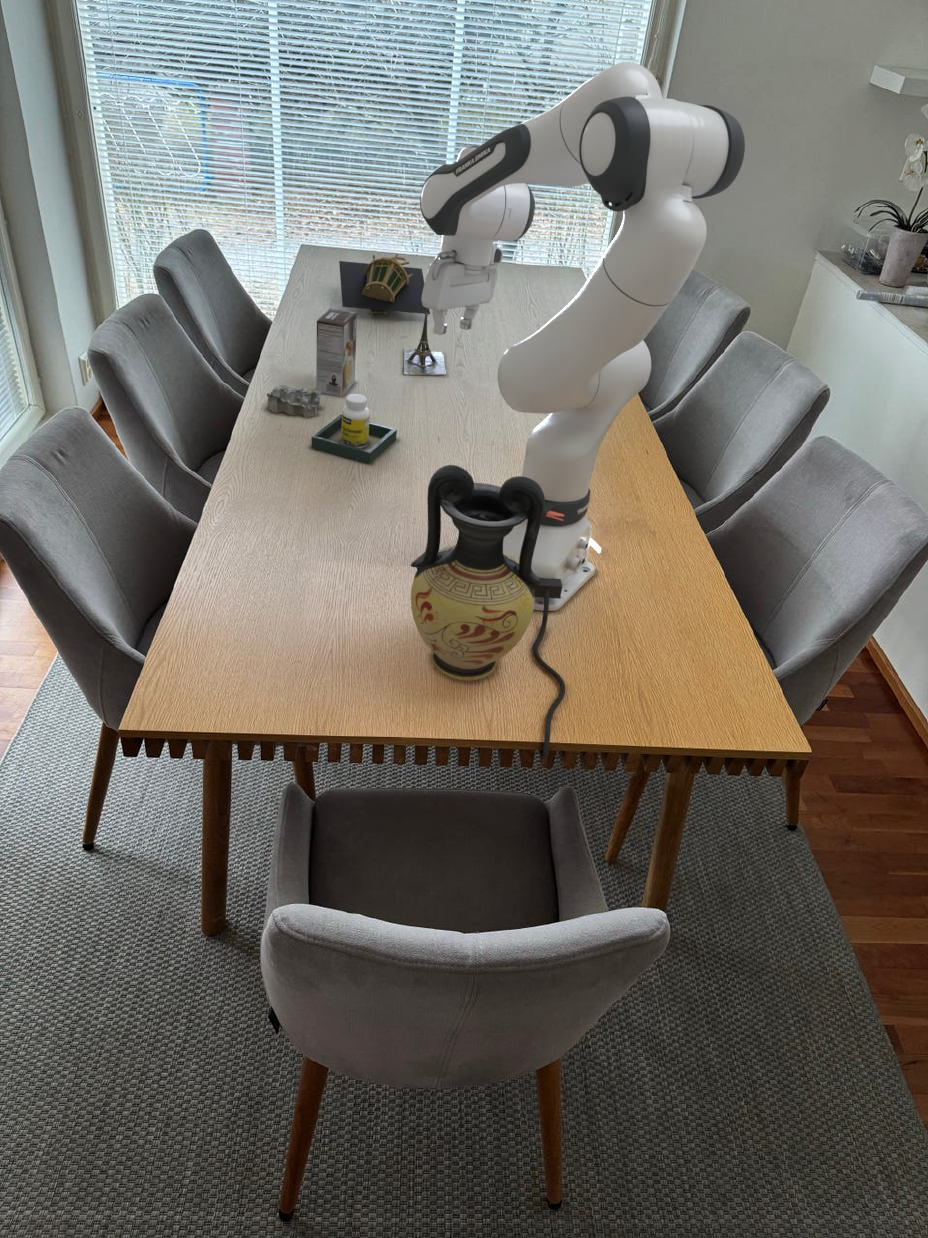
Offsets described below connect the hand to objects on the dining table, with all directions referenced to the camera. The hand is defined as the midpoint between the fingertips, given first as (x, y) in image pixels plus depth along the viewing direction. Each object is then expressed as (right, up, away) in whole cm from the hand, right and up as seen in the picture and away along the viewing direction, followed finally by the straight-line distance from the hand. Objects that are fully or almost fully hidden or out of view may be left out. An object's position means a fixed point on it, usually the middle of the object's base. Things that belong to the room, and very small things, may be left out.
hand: (452, 331), depth 167 cm
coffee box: (-27, 0, +42) cm, 49 cm away
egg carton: (-34, -7, +30) cm, 46 cm away
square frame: (-20, -16, +20) cm, 33 cm away
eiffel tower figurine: (-8, +10, +59) cm, 60 cm away
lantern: (-21, +36, +91) cm, 100 cm away
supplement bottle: (-20, -17, +20) cm, 33 cm away
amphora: (+2, -58, -32) cm, 66 cm away
